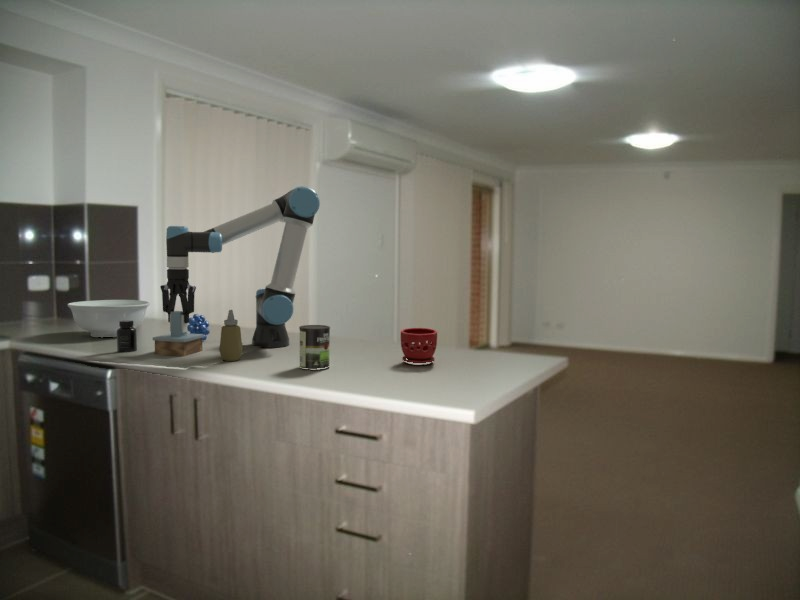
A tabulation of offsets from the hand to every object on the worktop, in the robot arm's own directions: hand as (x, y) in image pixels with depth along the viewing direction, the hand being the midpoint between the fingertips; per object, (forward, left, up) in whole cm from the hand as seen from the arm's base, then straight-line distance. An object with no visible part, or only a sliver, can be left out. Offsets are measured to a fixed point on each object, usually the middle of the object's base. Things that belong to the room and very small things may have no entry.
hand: (178, 331), depth 228 cm
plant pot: (-88, -13, -9) cm, 89 cm away
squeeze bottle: (-23, +3, -9) cm, 25 cm away
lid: (0, 0, -3) cm, 3 cm away
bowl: (+54, -30, -9) cm, 62 cm away
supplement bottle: (+20, +3, -9) cm, 22 cm away
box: (0, 0, -9) cm, 9 cm away
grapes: (+8, -27, -9) cm, 30 cm away
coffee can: (-56, +6, -9) cm, 57 cm away
